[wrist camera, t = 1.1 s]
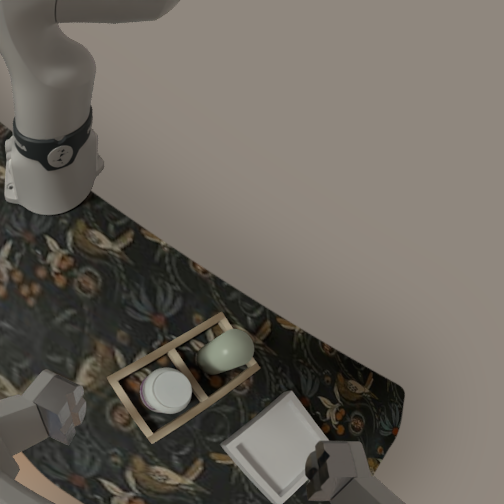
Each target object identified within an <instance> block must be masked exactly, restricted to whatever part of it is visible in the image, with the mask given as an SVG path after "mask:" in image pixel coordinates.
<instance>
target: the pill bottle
mask: <svg viewBox="0 0 504 504" xmlns="http://www.w3.org/2000/svg"><path fill="white" fill-rule="evenodd" d="M191 395H192V387H191V384H190V381H189V380H188V378H187V377H186V376H185V375H184V374H182V373H181V372H180V371H178V370H176V369H173V368H160V369H157V370H155V371H153V372H152V373H151V374H150V375H148V376H147V377H146V378H145V379H144V380H143V382H142V384H141V387H140V396H141V399H142V401H143V403H144V404H145V405H146V406H147V407H148V408H149V409H151V410H152V411H155V412H159V413H166V414H174V413H177V412H180V411H182V410H183V409H184V408H185V407H186V406H187V405H188V404H189V402H190V400H191Z"/></svg>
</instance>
